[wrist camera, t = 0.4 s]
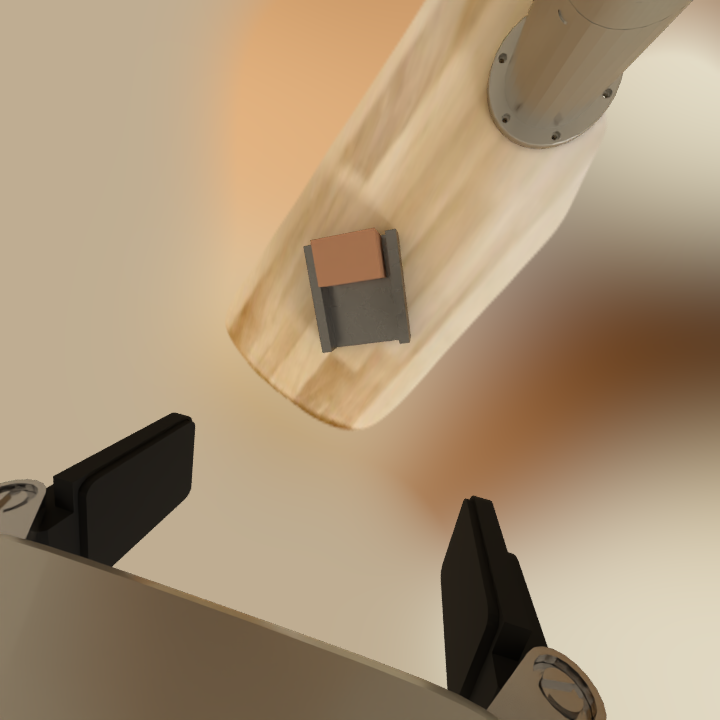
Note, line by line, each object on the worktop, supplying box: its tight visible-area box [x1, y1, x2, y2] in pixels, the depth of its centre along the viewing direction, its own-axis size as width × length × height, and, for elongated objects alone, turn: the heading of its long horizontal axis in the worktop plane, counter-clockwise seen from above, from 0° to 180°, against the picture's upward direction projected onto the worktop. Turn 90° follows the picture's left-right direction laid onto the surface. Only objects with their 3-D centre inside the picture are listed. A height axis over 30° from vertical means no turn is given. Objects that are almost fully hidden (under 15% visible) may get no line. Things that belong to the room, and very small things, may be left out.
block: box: [310, 228, 386, 287], centre depth 38 cm, size 5×7×6 cm
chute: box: [303, 229, 411, 353], centre depth 42 cm, size 13×11×4 cm
